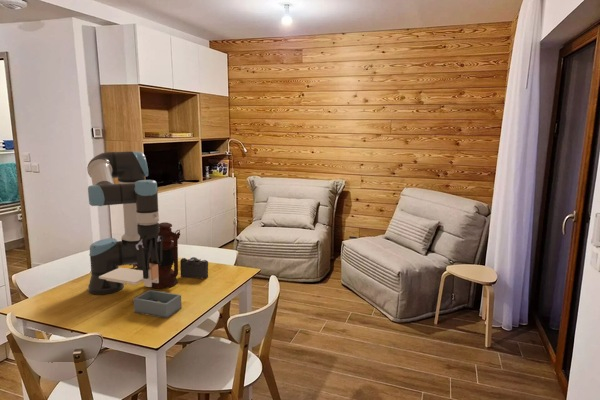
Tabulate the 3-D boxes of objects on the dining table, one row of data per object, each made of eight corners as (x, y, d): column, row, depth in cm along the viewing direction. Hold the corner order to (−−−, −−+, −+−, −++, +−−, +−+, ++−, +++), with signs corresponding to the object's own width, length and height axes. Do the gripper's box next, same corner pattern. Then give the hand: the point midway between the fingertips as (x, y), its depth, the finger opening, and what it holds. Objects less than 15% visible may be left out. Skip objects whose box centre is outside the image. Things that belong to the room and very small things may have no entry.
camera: (212, 272, 216) (212, 254, 214) (206, 279, 206) (205, 260, 204) (186, 270, 217) (186, 253, 216) (179, 278, 207) (178, 259, 205)
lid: (99, 281, 152) (97, 263, 151) (120, 272, 162) (119, 255, 161) (146, 289, 145) (145, 270, 144) (165, 278, 155) (164, 261, 154)
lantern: (138, 282, 195) (140, 223, 188) (158, 272, 208) (160, 217, 201) (167, 292, 189) (170, 231, 182) (186, 281, 202) (189, 224, 195)
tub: (134, 312, 168) (133, 298, 167) (150, 302, 177) (149, 289, 176) (166, 318, 163) (166, 304, 162) (181, 308, 172) (181, 294, 171)
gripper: (141, 228, 138) (145, 293, 142) (170, 219, 153) (173, 278, 157) (123, 227, 140) (127, 291, 144) (154, 217, 156) (157, 275, 160)
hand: (151, 284), depth 151 cm, fingers closed on lid, 3 cm apart
